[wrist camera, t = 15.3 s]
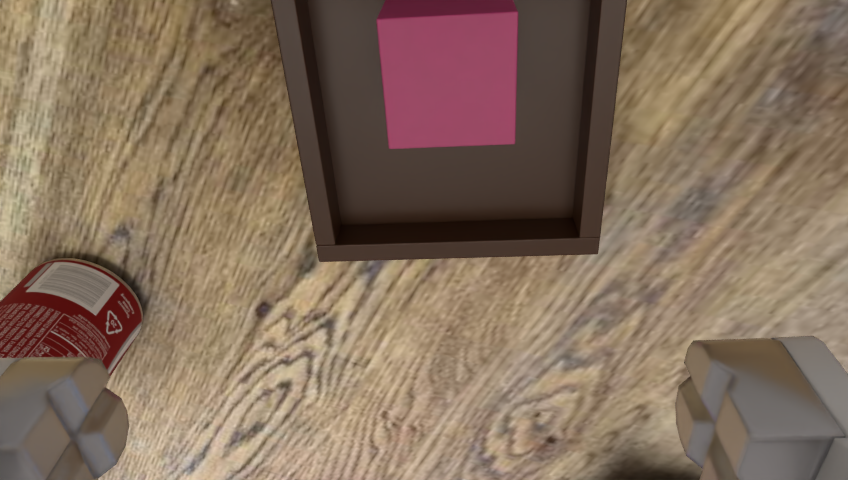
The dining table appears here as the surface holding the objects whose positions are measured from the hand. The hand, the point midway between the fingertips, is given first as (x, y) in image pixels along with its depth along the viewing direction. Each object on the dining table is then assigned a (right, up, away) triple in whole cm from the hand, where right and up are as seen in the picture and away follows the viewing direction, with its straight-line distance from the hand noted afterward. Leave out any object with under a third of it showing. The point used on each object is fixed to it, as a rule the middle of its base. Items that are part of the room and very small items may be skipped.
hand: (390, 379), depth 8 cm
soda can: (-20, -1, +28) cm, 34 cm away
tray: (+2, +11, +19) cm, 22 cm away
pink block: (+2, +10, +18) cm, 21 cm away
